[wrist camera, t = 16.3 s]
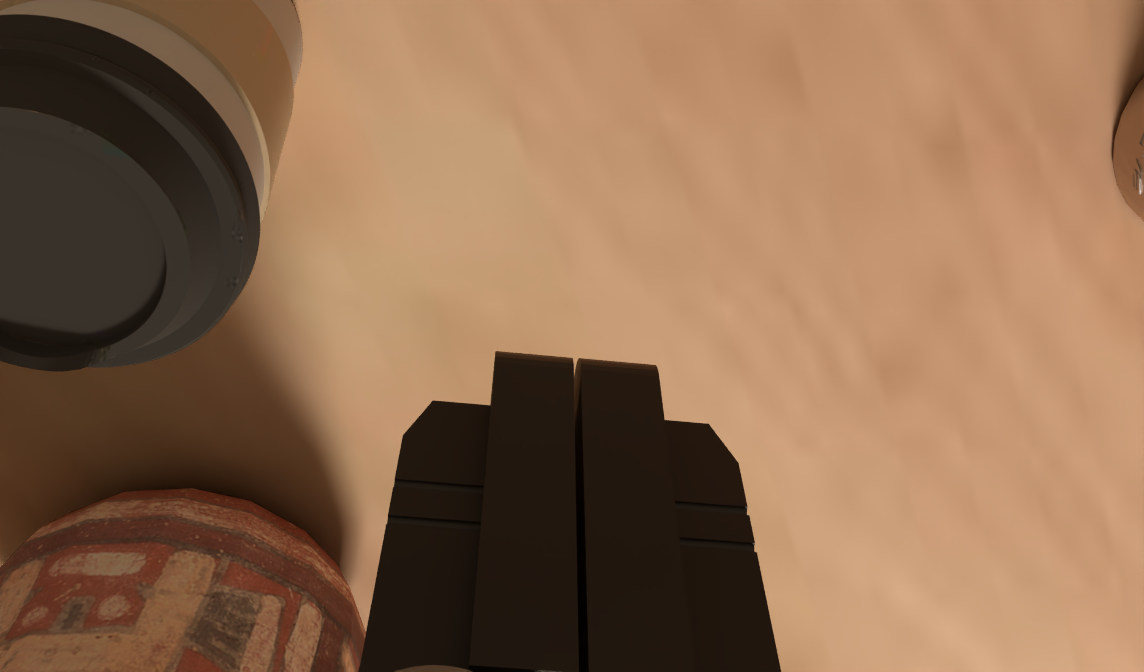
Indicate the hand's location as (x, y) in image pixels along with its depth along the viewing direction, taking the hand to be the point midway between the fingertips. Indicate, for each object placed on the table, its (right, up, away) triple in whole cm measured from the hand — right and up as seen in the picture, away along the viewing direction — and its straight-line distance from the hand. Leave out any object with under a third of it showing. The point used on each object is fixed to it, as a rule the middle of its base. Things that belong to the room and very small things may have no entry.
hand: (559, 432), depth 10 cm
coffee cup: (-12, +11, +26) cm, 31 cm away
